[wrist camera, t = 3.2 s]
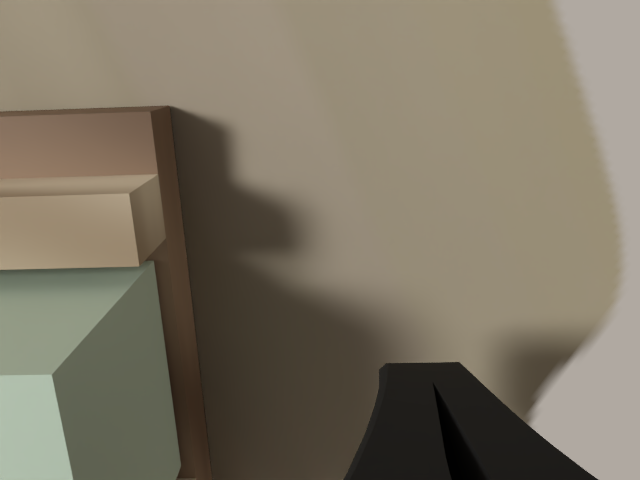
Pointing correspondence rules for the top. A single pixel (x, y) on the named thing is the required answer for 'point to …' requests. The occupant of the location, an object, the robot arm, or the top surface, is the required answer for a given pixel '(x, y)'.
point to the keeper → (84, 376)
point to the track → (107, 224)
